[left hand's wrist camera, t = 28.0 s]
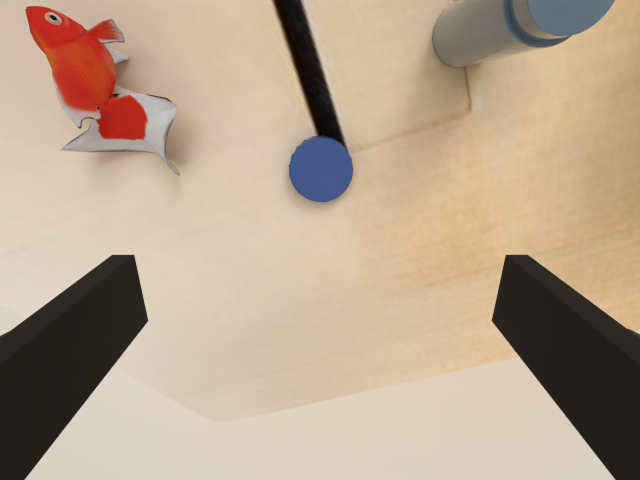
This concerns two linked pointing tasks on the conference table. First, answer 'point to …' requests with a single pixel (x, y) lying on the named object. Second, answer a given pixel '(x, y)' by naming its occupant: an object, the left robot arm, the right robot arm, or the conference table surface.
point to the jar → (509, 27)
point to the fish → (99, 87)
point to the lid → (321, 168)
